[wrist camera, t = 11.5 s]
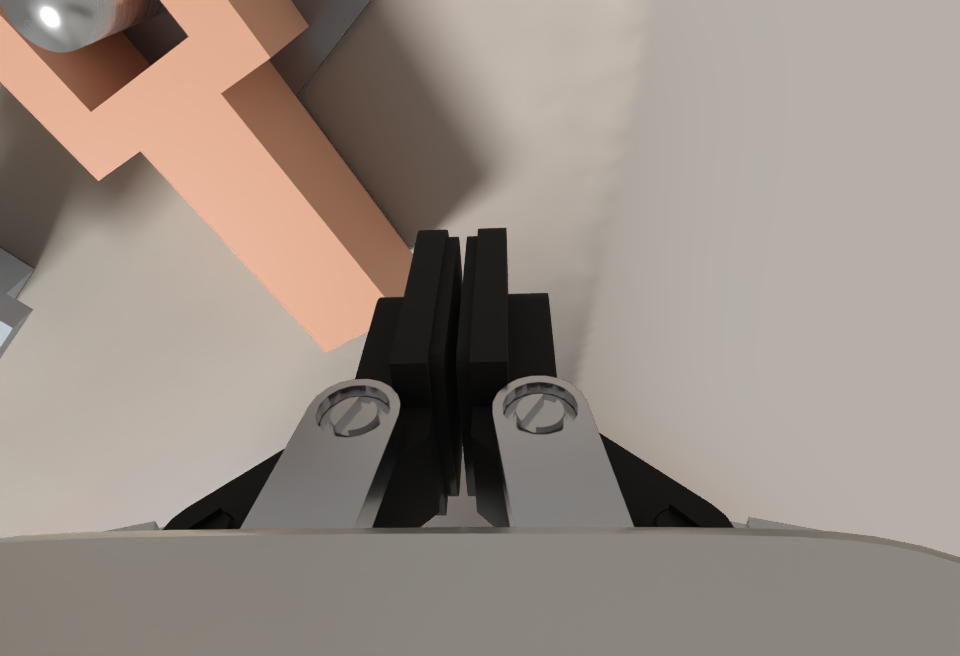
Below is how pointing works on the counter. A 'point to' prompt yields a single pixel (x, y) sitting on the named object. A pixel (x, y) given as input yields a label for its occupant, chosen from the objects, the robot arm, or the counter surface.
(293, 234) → the link
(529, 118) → the counter surface
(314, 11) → the pintle station
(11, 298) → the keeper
